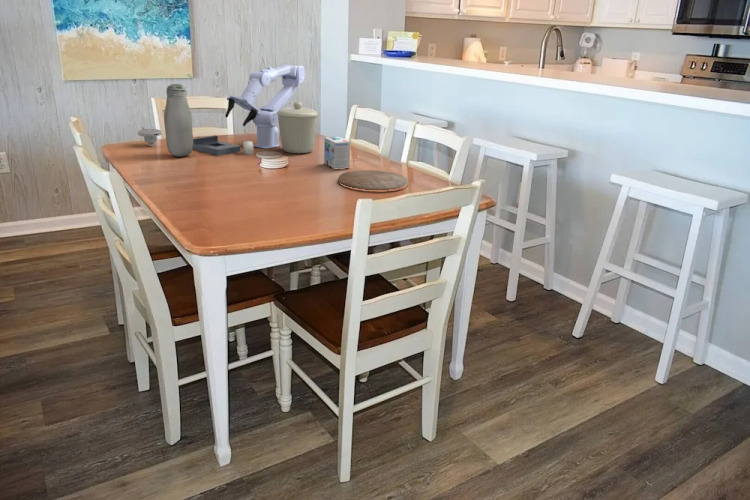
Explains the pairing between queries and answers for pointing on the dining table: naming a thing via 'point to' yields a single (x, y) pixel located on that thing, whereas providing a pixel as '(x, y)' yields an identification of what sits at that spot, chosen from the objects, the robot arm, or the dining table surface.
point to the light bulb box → (336, 152)
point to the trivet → (372, 180)
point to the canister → (297, 128)
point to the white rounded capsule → (248, 147)
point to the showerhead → (150, 135)
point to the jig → (214, 146)
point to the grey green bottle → (178, 121)
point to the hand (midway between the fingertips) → (234, 120)
